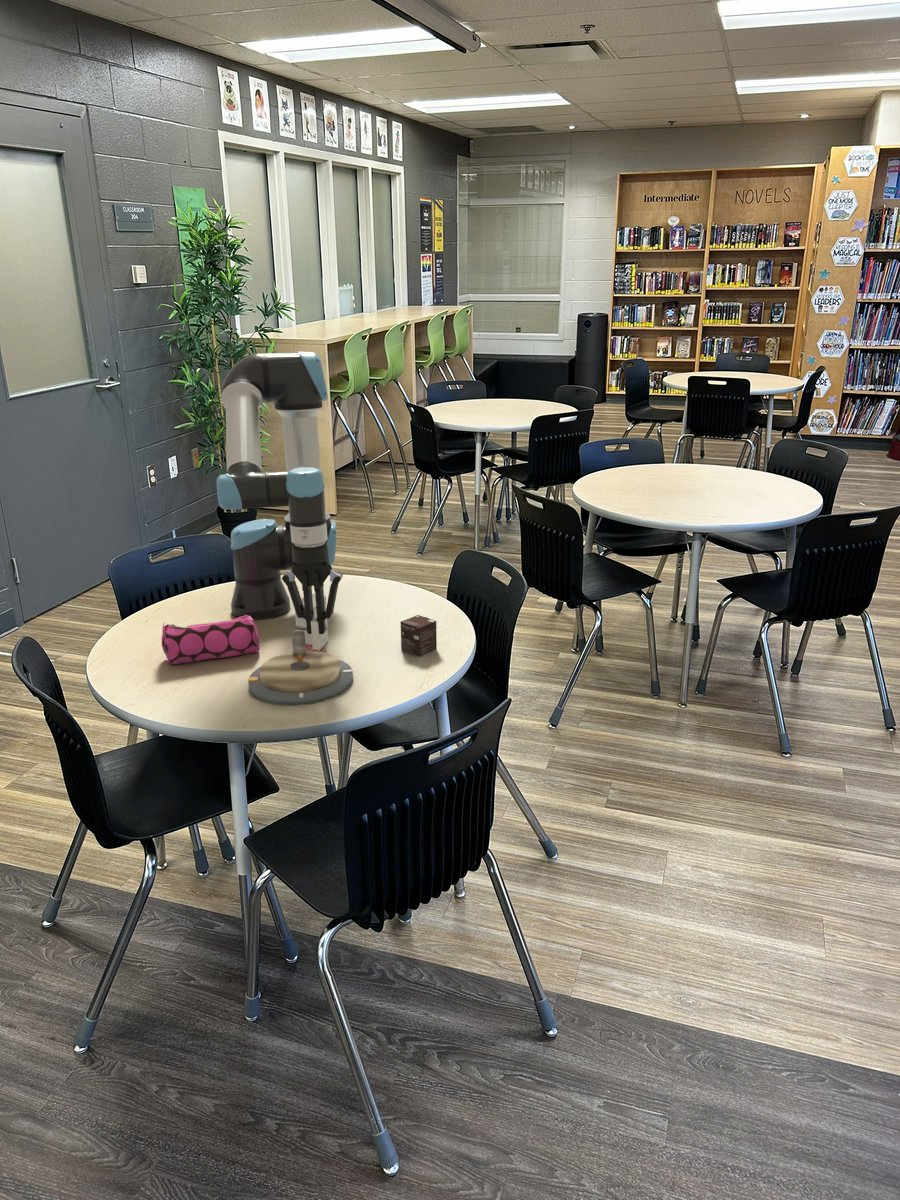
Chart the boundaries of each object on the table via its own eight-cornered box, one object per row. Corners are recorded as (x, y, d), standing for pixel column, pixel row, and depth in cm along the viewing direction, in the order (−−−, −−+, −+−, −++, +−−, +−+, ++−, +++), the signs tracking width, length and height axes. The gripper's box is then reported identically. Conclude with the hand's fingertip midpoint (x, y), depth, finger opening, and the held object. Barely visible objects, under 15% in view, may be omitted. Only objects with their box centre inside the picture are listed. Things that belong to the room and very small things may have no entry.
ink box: (317, 655, 204) (313, 606, 200) (296, 654, 205) (292, 605, 201) (329, 641, 212) (326, 594, 208) (309, 640, 213) (306, 593, 209)
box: (400, 651, 205) (399, 621, 203) (419, 643, 209) (418, 614, 207) (419, 657, 201) (418, 627, 199) (437, 650, 205) (436, 620, 203)
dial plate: (251, 666, 199) (250, 658, 198) (349, 657, 202) (349, 650, 201) (246, 709, 178) (245, 701, 178) (356, 699, 182) (355, 691, 181)
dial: (261, 663, 196) (258, 633, 194) (338, 656, 199) (336, 627, 196) (258, 696, 180) (255, 664, 178) (342, 688, 183) (340, 657, 181)
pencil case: (166, 673, 196) (160, 631, 193) (163, 657, 205) (157, 617, 201) (263, 657, 203) (259, 617, 200) (256, 643, 212) (252, 603, 209)
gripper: (274, 547, 183) (283, 653, 191) (335, 548, 182) (343, 654, 190) (284, 537, 191) (293, 640, 198) (344, 538, 189) (350, 641, 197)
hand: (317, 647), depth 194 cm, fingers closed
